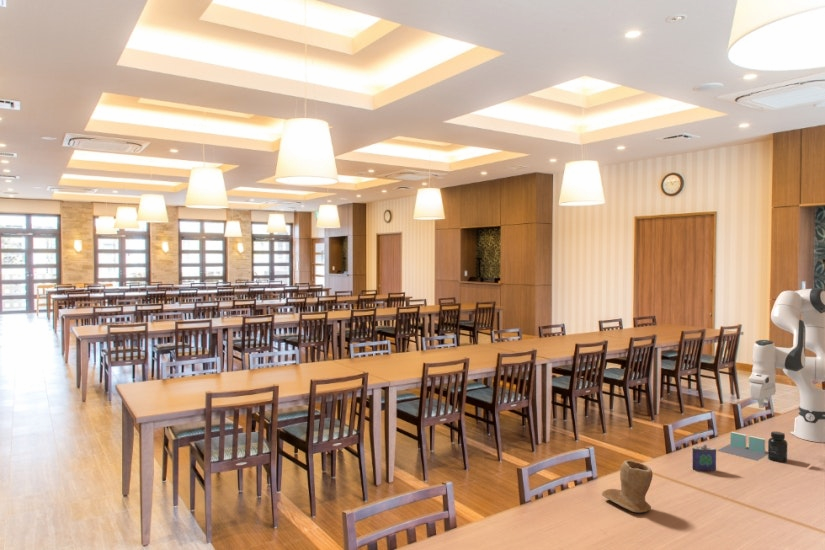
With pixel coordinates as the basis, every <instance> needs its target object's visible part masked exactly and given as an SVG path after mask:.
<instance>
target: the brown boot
mask: <svg viewBox="0 0 825 550" xmlns="http://www.w3.org/2000/svg"><path fill="white" fill-rule="evenodd" d="M653 475H654V474H653V469H651V468H650V467H649V466H648V465H646V464H644V463H641V462H639V461H635V460H624V461H623V462H622V463H621V465H620V471H619V478H620V489H619V488H608V489H605V490H604V491H602V493H601V496H602V497H604V498H606V499H607V500H609V501H611V502H613V503H614V504H616V505H618V506H620V507H622V508H623V509H626V510H628V511H630V512H633V513H646V512H649V511H650V510H651V509H652V505H650V504H649V503H648V502H647V501H646V495H647V493H648V491H649V489H650V487H651V483H652V480H653Z"/></svg>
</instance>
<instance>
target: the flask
mask: <svg viewBox="0 0 825 550" xmlns="http://www.w3.org/2000/svg"><path fill="white" fill-rule="evenodd" d="M708 446H709V445H708V444H706V443H703V445H702V446H696V447H695V446H694V447H692V451H691V452H692V469H693V470H692V471H694V470H695V471H696V472H716V471H717V448H714V447H708ZM695 471H694V472H695Z"/></svg>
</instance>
